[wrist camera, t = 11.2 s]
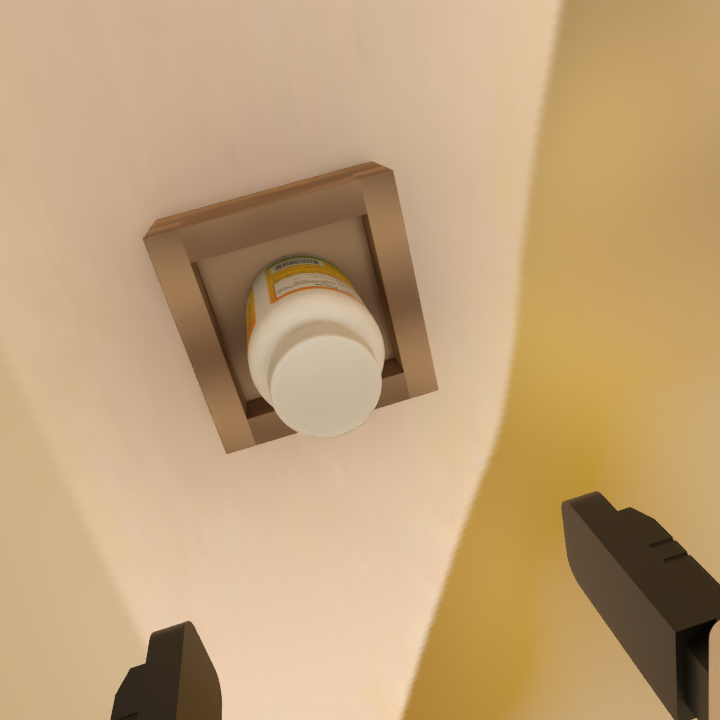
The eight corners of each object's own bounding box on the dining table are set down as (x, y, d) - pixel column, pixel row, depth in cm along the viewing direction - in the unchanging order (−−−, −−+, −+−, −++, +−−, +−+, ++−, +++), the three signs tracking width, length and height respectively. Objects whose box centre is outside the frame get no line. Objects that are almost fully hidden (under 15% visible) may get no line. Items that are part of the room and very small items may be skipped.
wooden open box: (155, 220, 30) (142, 238, 26) (372, 161, 31) (392, 170, 27) (227, 412, 35) (226, 454, 31) (415, 356, 35) (438, 389, 31)
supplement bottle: (306, 377, 32) (333, 481, 23) (222, 313, 30) (216, 402, 21) (377, 299, 31) (432, 377, 22) (294, 228, 29) (320, 283, 20)
